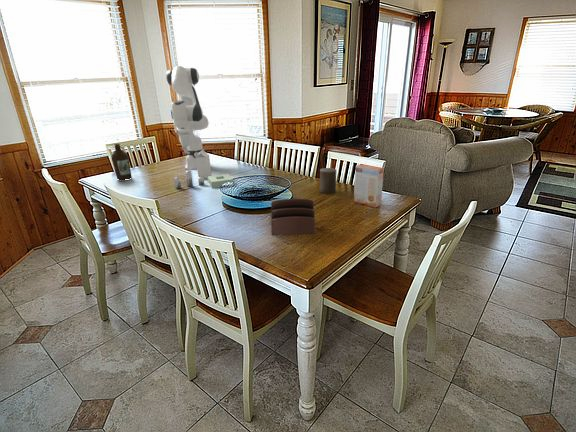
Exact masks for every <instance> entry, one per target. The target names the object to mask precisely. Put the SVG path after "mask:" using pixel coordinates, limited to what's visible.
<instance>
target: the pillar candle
mask: <svg viewBox="0 0 576 432" xmlns="http://www.w3.org/2000/svg"><path fill="white" fill-rule="evenodd" d="M336 189H337V169H336V168H333V167H324V168H320V169H319V192H320V194H323V195H331V194H332V195H333V193H334V194H335V193H336V191H337V190H336Z"/></svg>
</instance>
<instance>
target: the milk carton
mask: <svg viewBox="0 0 576 432" xmlns="http://www.w3.org/2000/svg"><path fill="white" fill-rule="evenodd" d="M196 162H197V169H196V170H197V175H198V177H204V179H208V176H212V169H211V160H210V154H208V153H207V152H206V151H205V150H204V148H203V150H202V151H200V152H199V153H198V156H197V157H196ZM198 177H197V178H198Z"/></svg>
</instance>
